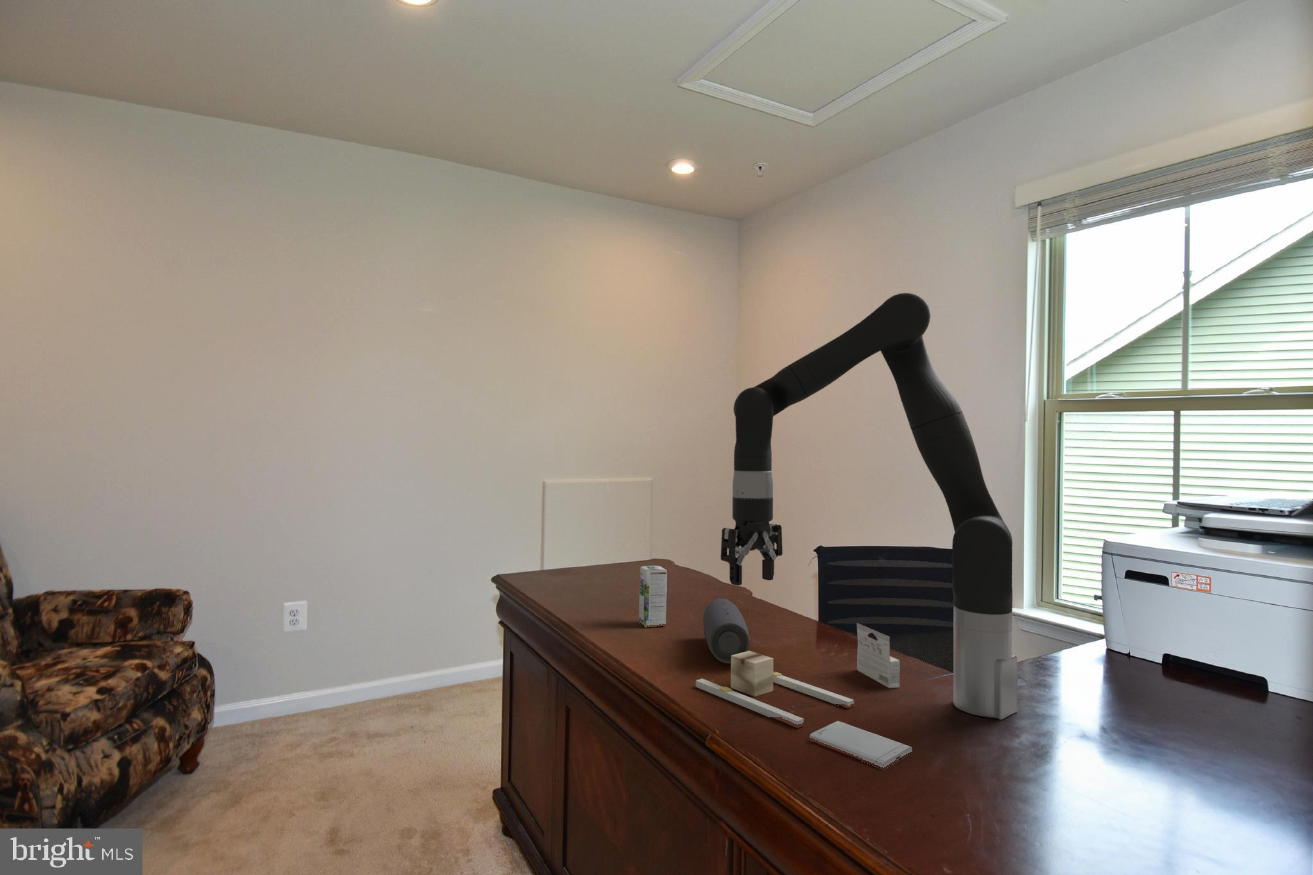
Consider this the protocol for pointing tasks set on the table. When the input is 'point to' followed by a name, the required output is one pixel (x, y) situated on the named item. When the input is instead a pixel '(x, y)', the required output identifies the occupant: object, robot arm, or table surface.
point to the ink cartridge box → (877, 657)
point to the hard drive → (861, 743)
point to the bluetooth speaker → (725, 630)
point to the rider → (752, 673)
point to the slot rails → (768, 709)
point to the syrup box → (652, 595)
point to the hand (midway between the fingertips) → (752, 582)
